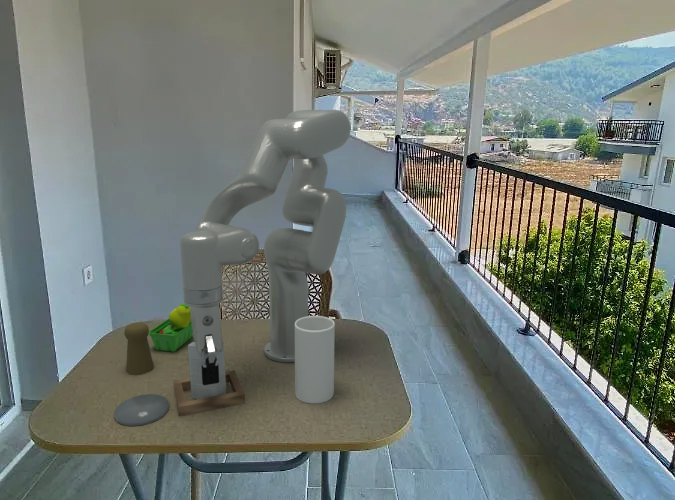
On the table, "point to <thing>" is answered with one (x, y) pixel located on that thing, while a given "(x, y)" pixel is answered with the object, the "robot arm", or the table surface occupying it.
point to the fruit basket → (173, 330)
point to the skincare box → (196, 374)
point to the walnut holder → (209, 402)
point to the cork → (138, 349)
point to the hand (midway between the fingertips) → (207, 372)
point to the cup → (314, 359)
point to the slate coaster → (141, 410)
